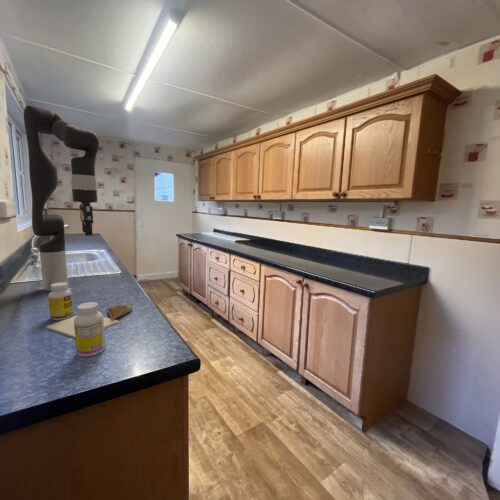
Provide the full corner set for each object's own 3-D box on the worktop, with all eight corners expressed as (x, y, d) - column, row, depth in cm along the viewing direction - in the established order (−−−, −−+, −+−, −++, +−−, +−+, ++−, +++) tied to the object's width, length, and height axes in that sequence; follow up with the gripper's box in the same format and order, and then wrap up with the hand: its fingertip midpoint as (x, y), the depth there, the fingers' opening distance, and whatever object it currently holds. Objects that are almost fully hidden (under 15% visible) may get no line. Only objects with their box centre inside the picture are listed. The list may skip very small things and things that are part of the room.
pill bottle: (61, 321, 89) (58, 287, 87) (45, 319, 90) (41, 286, 89) (78, 314, 95) (75, 282, 94) (62, 312, 97) (59, 280, 95)
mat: (46, 328, 84) (46, 326, 84) (86, 313, 96) (86, 311, 96) (79, 339, 78) (79, 337, 78) (118, 322, 90) (118, 320, 89)
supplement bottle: (84, 344, 75) (81, 300, 73) (109, 344, 76) (106, 300, 74) (71, 358, 69) (66, 310, 66) (98, 357, 69) (95, 309, 67)
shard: (112, 320, 89) (112, 315, 89) (92, 318, 91) (92, 313, 90) (133, 310, 99) (133, 306, 99) (115, 308, 101) (115, 304, 101)
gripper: (70, 188, 100) (73, 231, 103) (73, 187, 88) (77, 237, 91) (93, 189, 104) (96, 231, 107) (99, 189, 93) (102, 236, 96)
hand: (87, 233), depth 99 cm, fingers open, 8 cm apart
